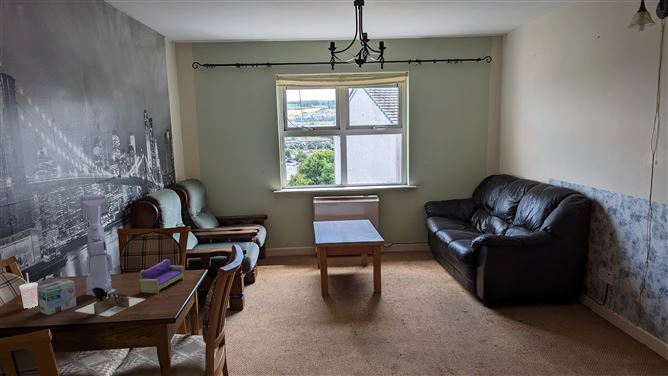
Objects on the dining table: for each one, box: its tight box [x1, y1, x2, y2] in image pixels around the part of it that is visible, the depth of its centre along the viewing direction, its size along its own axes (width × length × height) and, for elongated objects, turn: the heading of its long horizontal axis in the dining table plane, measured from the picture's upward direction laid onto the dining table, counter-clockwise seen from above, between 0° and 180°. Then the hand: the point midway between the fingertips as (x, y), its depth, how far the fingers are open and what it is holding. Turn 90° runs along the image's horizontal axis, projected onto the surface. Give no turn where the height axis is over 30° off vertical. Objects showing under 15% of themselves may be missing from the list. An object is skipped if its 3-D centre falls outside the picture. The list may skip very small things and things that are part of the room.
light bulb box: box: [37, 278, 77, 316], centre depth 165 cm, size 11×7×11 cm, turn 148°
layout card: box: [75, 294, 146, 317], centre depth 168 cm, size 18×18×1 cm
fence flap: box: [94, 292, 117, 315], centre depth 163 cm, size 10×1×5 cm, turn 162°
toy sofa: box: [139, 258, 185, 294], centre depth 190 cm, size 21×9×10 cm, turn 167°
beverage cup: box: [18, 272, 39, 309], centre depth 170 cm, size 6×6×14 cm
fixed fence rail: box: [116, 292, 130, 309], centre depth 166 cm, size 5×1×5 cm, turn 69°
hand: (102, 305), depth 163 cm, fingers closed, pressing on fence flap
